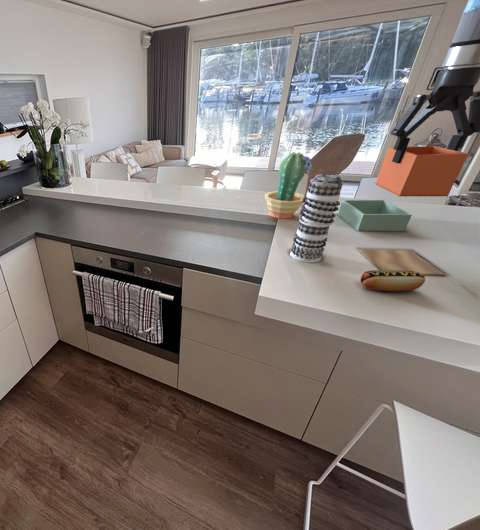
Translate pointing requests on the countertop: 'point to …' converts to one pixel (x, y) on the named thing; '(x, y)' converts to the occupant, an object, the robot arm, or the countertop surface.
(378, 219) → the sage bin
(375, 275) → the hot dog
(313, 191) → the decorative candle
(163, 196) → the countertop surface
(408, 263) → the wooden square board
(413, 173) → the terracotta bin
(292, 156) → the potted cactus
